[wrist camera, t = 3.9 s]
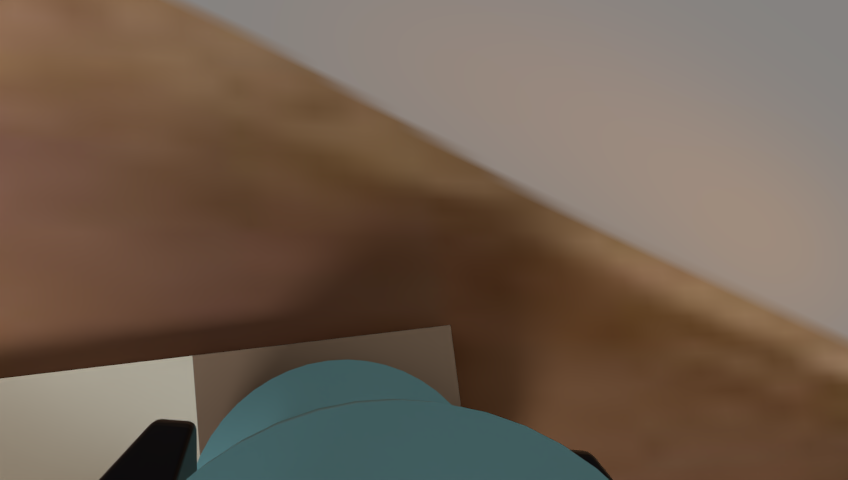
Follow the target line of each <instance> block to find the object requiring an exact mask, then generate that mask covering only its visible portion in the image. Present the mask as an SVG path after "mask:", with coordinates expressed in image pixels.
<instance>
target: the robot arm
mask: <svg viewBox="0 0 848 480" xmlns="http://www.w3.org/2000/svg"><path fill="white" fill-rule="evenodd" d="M571 451H572V452H574V453H575V454H576V455H578V456H579V457H581V458H582V459H584V460H585V461H586V462H588V463H589V464H591V465H592V466H594V467H595V468H597V469H598V470H599V471H600V472H601V473H602V474H603V475H604V476H606V477H607V478H608V479H609V480H613V479H612V478H611V477H610V476H609V474H608V473H607V472H606V471H605V469H604V468H603V467H602V466H601V464H600V463H599V462H598V461H597V459H596V458H595V457H594V456H593V455H591V454H590V453H588V452H586V451H580V450H571ZM196 471H197V430H196V426H195V424H194V423H192V422H190V421H182V420H169V419H158V420H156V421H154V422H152V423H151V424H150V425H149V426H148V427H147V428H146V429H145V430H144V431H143V432H142V434H141V435H140V436H139V437H138V438H137V439H136V440H135V441H134V442H133V443H132V444H131V445H130V447H129V448H128V449H127V450H126V451H125V452H124V453H123V454H122V455H121V456H120V457H119V458H118V459H117V461H116V462H115V463H114V464H113V465H112V466H111V467H110V468H109V469H108V470H107V471H106V472H105V474H104V475H103V476H102V477H101V478H100V479H99V480H186V479H187V478H188V477H190V476H191V475H192V474H193V473H194V472H196Z"/></svg>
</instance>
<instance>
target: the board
mask: <svg viewBox="0 0 848 480" xmlns="http://www.w3.org/2000/svg"><path fill="white" fill-rule="evenodd" d="M330 360H361V361H369V362H374V363H379V364H384V365H387V366H390V367H393V368H396V369H398V370H401V371H404V372H406V373H408V374H410V375H412V376H414V377H416V378H418V379H420V380H421V381H423V382H424V383H426V384H427V385H429V386H430V387H432V388H433V389H434V390H436V391H437V392H438V393H439V394H440V395H442V396H443V397H444V398H445V399H446V400H447V401H448V402H449V403H450V404H451V405H454V406H459V407H461V402H460V395H459V387H458V379H457V372H456V364H455V356H454V349H453V341H452V333H451V325H446V326H438V327H429V328H421V329H412V330H404V331H396V332H387V333H379V334H370V335H362V336H354V337H345V338H337V339H328V340H320V341H312V342H303V343H295V344H286V345H278V346H270V347H261V348H253V349H244V350H236V351H228V352H219V353H211V354H202V355H194V356H186V357H177V358H169V359H160V360H152V361H144V362H135V363H127V364H118V365H110V366H102V367H93V368H85V369H76V370H68V371H60V372H51V373H43V374H34V375H26V376H18V377H9V378H1V379H0V480H99V479H100V478H101V477H102V476H103V475H104V474H105V472H106V471H107V470H108V469H109V468H110V467H111V466H112V465H113V464H114V463H115V462H116V461H117V459H118V458H119V457H120V456H121V455H122V454H123V453H124V452H125V451H126V450H127V449H128V448H129V447H130V445H131V444H132V443H133V442H134V441H135V440H136V439H137V438H138V437H139V436H140V435H141V434H142V432H143V431H144V430H145V429H146V428H147V427H148V426H149V425H150V424H151V423H152V422H154V421H156V420H158V419H169V420H182V421H190V422H192V423H194V424H195V426H196V430H197V462H198V460H199V457H200V455H201V453H202V451H203V449H204V448H205V446H206V444H207V442H208V440H209V438H210V437H211V435H212V434H213V433H214V431H215V430H216V428H217V427H218V426H219V424H220V423H221V421H222V420H223V419H224V418H225V417H226V416H227V415H228V413H229V412H230V411H231V410H232V409H233V408H234V407H235V406H236V405H237V404H238V403H239V402H240V401H241V400H243V399H244V398H245V397H246V396H247V395H249V394H250V393H251V392H252V391H253V390H255V389H256V388H258V387H260V386H261V385H263V384H264V383H266V382H267V381H269V380H270V379H272V378H275V377H277V376H279V375H281V374H283V373H285V372H287V371H289V370H292V369H295V368H298V367H301V366H305V365H308V364H312V363H318V362H323V361H330Z"/></svg>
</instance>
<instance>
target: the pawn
mask: <svg viewBox="0 0 848 480" xmlns="http://www.w3.org/2000/svg"><path fill="white" fill-rule="evenodd" d="M186 480H609V479H608V478H607V477H606V476H604V475H603V474H602V473H601V472H600V471H599V470H598V469H597V468H595V467H594V466H592V465H591V464H589V463H588V462H586V461H585V460H584V459H582V458H581V457H579V456H578V455H576V454H575V453H574V452H572V451H571V450H569V449H568V448H566V447H565V446H563V445H562V444H560V443H558V442H556V441H554V440H552V439H550V438H548V437H546V436H544V435H542V434H540V433H538V432H536V431H534V430H532V429H530V428H529V427H527V426H524V425H521V424H519V423H516V422H513V421H510V420H507V419H504V418H502V417H499V416H496V415H493V414H490V413H487V412H483V411H478V410H474V409H469V408H464V407H459V406H454V405H451V404H450V403H449V402H448V401H447V400H446V399H445V398H444V397H443V396H442V395H440V394H439V393H438V392H437V391H436V390H434V389H433V388H432V387H430V386H429V385H427V384H426V383H424V382H423V381H421V380H420V379H418V378H416V377H414V376H412V375H410V374H408V373H406V372H404V371H401V370H398V369H396V368H393V367H390V366H387V365H384V364H379V363H374V362H369V361H361V360H330V361H323V362H318V363H312V364H308V365H305V366H301V367H298V368H295V369H292V370H289V371H287V372H285V373H283V374H281V375H279V376H277V377H275V378H272V379H270V380H269V381H267V382H266V383H264V384H263V385H261V386H260V387H258V388H256V389H255V390H253V391H252V392H251V393H250V394H249V395H247V396H246V397H245V398H244V399H243V400H241V401H240V402H239V403H238V404H237V405H236V406H235V407H234V408H233V409H232V410H231V411H230V412H229V413H228V415H227V416H226V417H225V418H224V419H223V420H222V421H221V423H220V424H219V426H218V427H217V428H216V430H215V431H214V433H213V434H212V435H211V437H210V438H209V440H208V442H207V444H206V446H205V448H204V449H203V451H202V453H201V455H200V457H199V460H198V462H197V471H196V472H194V473H193V474H192V475H191V476H190V477H188V478H187V479H186Z"/></svg>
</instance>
